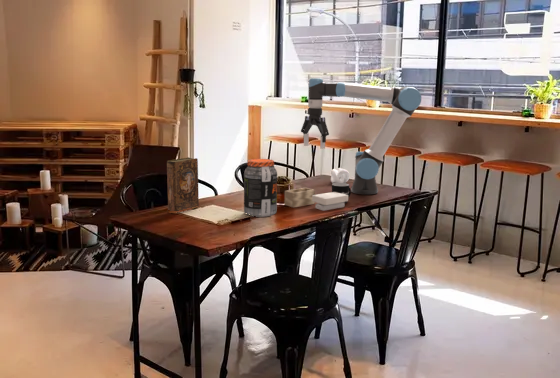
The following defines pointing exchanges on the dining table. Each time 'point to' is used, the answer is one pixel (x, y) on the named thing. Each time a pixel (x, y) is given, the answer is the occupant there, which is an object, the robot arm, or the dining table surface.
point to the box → (299, 197)
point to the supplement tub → (260, 188)
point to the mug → (341, 188)
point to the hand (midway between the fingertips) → (314, 147)
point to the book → (182, 183)
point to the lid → (329, 198)
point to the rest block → (329, 206)
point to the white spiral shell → (339, 175)
